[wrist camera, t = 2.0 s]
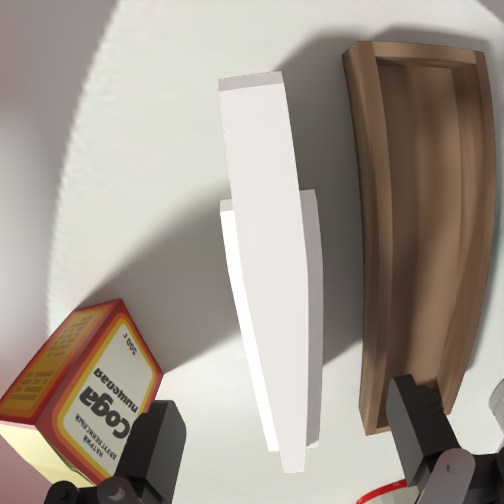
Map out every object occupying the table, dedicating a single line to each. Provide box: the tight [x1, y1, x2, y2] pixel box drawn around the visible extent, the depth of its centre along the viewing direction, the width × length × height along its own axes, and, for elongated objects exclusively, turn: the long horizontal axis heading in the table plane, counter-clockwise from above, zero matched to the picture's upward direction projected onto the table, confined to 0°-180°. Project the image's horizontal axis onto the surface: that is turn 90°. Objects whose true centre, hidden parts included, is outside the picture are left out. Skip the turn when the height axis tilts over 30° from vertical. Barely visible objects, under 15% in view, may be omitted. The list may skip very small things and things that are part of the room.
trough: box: [342, 41, 496, 436], centre depth 23 cm, size 10×34×4 cm, turn 9°
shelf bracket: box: [219, 71, 323, 473], centre depth 23 cm, size 6×25×13 cm, turn 8°
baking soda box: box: [0, 299, 164, 488], centre depth 23 cm, size 10×6×16 cm
